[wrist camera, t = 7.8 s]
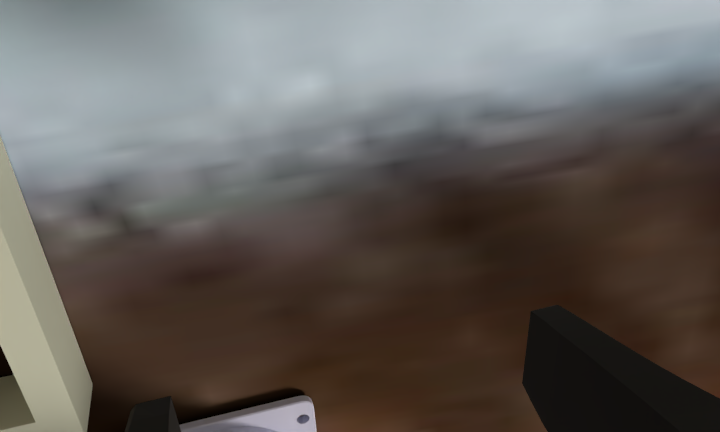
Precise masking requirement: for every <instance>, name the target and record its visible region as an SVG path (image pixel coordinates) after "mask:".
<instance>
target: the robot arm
mask: <svg viewBox="0 0 720 432" xmlns="http://www.w3.org/2000/svg"><path fill="white" fill-rule="evenodd" d="M522 383H523V385H524V388H525V390H526V392H527V394H528V396H529V398H530V400H531V402H532V404H533V406H534V408H535V410H536V411H537V413H538V415H539V417H540V419H541V421H542V423H543V424H544V426H545V428H546V430H547V431H548V432H720V399H719V398H717V397H716V396H714V395H712V394H710V393H708V392H706V391H704V390H702V389H700V388H698V387H697V386H695V385H693V384H691V383H689V382H687V381H685V380H683V379H681V378H680V377H678V376H676V375H674V374H672V373H671V372H669V371H667V370H665V369H664V368H662V367H660V366H658V365H657V364H655V363H653V362H651V361H650V360H648V359H646V358H645V357H643V356H641V355H640V354H638V353H636V352H635V351H633V350H631V349H630V348H628V347H626V346H625V345H623V344H621V343H620V342H618V341H616V340H615V339H613V338H612V337H610V336H608V335H607V334H605V333H603V332H602V331H600V330H598V329H597V328H595V327H594V326H592V325H590V324H589V323H587V322H586V321H584V320H582V319H581V318H579V317H577V316H576V315H574V314H572V313H571V312H569V311H567V310H566V309H564V308H562V307H560V306H559V305H555V306H551V307H547V308H543V309H538V310H534V311H531V315H530V323H529V332H528V340H527V348H526V357H525V365H524V373H523V382H522ZM301 415H304V416H301ZM125 432H317V430H316V421H315V413H314V406H313V402H312V400H311V398H310V397H308V396H305V395H302V396H296V397H292V398H288V399H284V400H280V401H275V402H271V403H267V404H263V405H259V406H255V407H251V408H246V409H242V410H238V411H234V412H230V413H226V414H222V415H218V416H213V417H209V418H205V419H201V420H197V421H193V422H189V423H185V424H180V425H179V423H178V419H177V416H176V412H175V409H174V406H173V402H172V399H171V396H169V397H165V398H161V399H156V400H152V401H148V402H144V403H140V404H136V405H135V406H134V407H133V408H132V410H131V412H130V415H129V419H128V422H127V426H126V429H125Z"/></svg>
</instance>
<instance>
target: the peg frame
mask: <svg viewBox="0 0 720 432" xmlns="http://www.w3.org/2000/svg"><path fill="white" fill-rule="evenodd" d="M0 346H1V348H2V350H3V352H4V354H5V357H6V359H7V361H8V363H9V365H10V367H11V370H12V372H13V374H14V375H10V376H5V377H1V378H0V432H87V428H88V419H89V411H90V403H91V395H92V386H93V383H92V381H91V378H90V375H89V373H88V370H87V367H86V365H85V362H84V359H83V357H82V354H81V351H80V349H79V346H78V343H77V340H76V338H75V335H74V332H73V330H72V327H71V324H70V322H69V319H68V316H67V314H66V311H65V308H64V306H63V303H62V300H61V298H60V295H59V292H58V289H57V287H56V284H55V281H54V279H53V276H52V273H51V271H50V268H49V265H48V263H47V260H46V257H45V255H44V252H43V249H42V247H41V244H40V241H39V238H38V236H37V233H36V230H35V228H34V225H33V222H32V220H31V217H30V214H29V212H28V209H27V206H26V204H25V201H24V198H23V196H22V193H21V190H20V187H19V185H18V182H17V179H16V177H15V174H14V171H13V169H12V166H11V163H10V161H9V158H8V155H7V153H6V150H5V147H4V145H3V142H2V139H1V137H0Z"/></svg>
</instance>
